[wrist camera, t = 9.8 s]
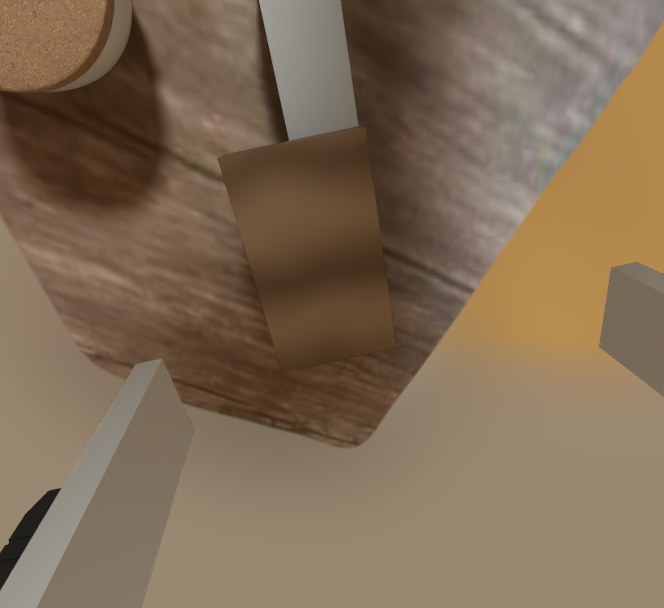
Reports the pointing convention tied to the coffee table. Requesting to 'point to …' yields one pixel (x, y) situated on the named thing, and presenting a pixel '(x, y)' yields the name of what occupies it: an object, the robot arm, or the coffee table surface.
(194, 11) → the coffee table surface
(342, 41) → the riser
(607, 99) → the coffee table surface
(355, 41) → the coffee table surface
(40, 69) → the lidded jar
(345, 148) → the board
